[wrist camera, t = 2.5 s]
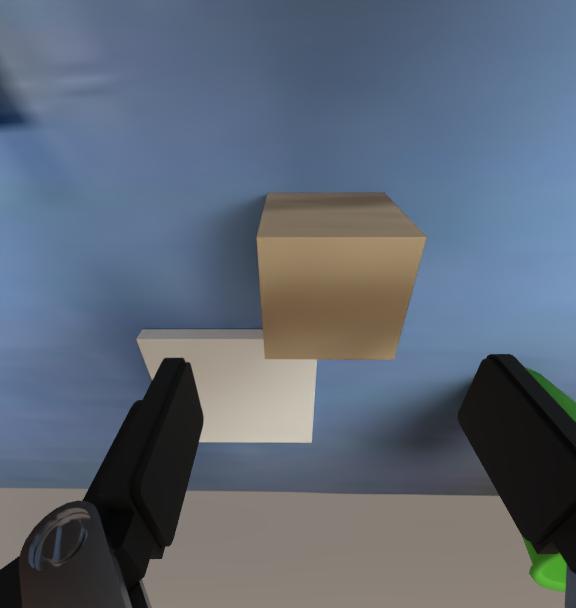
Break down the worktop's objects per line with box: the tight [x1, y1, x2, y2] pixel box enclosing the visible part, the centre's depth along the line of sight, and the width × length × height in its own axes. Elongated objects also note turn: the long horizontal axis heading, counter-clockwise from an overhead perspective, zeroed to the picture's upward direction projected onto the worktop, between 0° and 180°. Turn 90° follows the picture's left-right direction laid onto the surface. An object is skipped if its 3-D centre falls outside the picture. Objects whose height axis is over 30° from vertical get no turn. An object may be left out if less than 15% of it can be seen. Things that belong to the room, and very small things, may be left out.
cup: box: [522, 368, 576, 592], centre depth 19 cm, size 9×9×11 cm
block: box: [257, 193, 427, 360], centre depth 15 cm, size 6×6×6 cm
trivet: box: [136, 329, 317, 443], centre depth 24 cm, size 12×12×1 cm
